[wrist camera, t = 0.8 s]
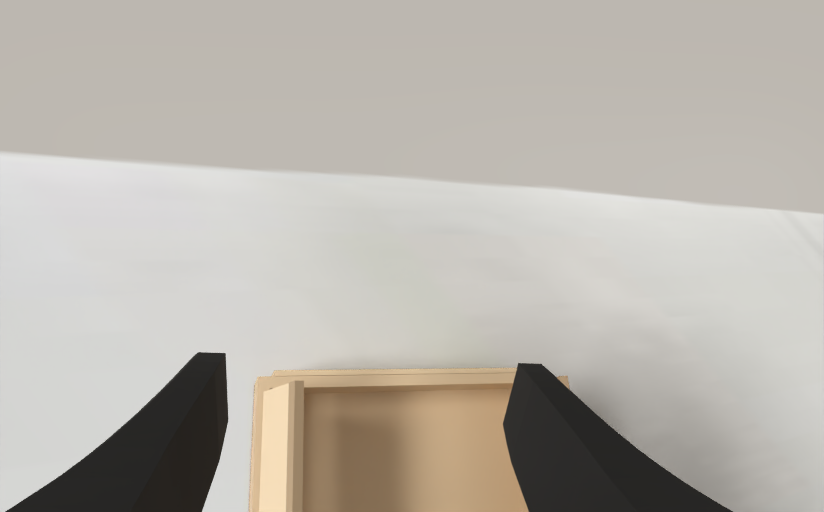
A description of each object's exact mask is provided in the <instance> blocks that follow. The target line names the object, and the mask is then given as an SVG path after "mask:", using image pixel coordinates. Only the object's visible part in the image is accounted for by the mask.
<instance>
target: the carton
mask: <svg viewBox="0 0 824 512" xmlns="http://www.w3.org/2000/svg"><path fill="white" fill-rule="evenodd" d="M516 371H517V368H455V369H364V370H275V371H274V372H273V374H272V376H269V377H258V378H257V380H256V383H255V385H254V407H253V429H252V450H251V472H250V494H249V512H259V497H260V472H261V446H262V421H263V396H264V391H267V390H270V389H273V388H276V387H279V386H281V385H284V384H287V383H289V382H292V381H304V424H303V498H302V512H529V510H528V508H527V505H526V502H525V500H524V497H523V494H522V491H521V489H520V486H519V483H518V480H517V477H516V475H515V472H514V469H513V466H512V463H511V460H510V455H509V451H508V447H507V443H506V438H505V433H504V428H503V421H504V417H505V413H506V409H507V405H508V402H509V398H510V394H511V390H512V386H513V382H514V378H515V374H516Z"/></svg>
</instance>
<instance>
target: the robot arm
mask: <svg viewBox="0 0 824 512" xmlns="http://www.w3.org/2000/svg"><path fill="white" fill-rule="evenodd" d="M227 423H228V403H227V379H226V354H225V353H201V352H198V353H197V354H196V355H195V356H193V358H192V359H191V360H190V361H189V362H188V363H187V364H186V365H185V366H184V367H183V368H182V369H181V370H180V371H179V372H178V373H177V374H176V375H175V377H174V378H173V379H172V380H171V381H170V382H169V383H168V384H167V385H166V386H165V387H164V388H163V389H162V390H161V391H160V392H159V393H158V394H157V395H156V396H155V397H154V398H153V399H151V400H150V401H149V402H148V403H147V404H146V405H145V406H144V407H143V408H142V409H141V410H140V411H139V412H138V413H137V414H136V415H135V416H134V417H132V418H131V419H130V420H129V421H128V422H127V423H126V424H124V425H123V426H122V427H121V428H120V429H119V430H118V431H116V432H115V433H114V434H113V435H112V436H111V437H110V438H108V439H107V440H106V441H105V442H104V443H102V444H101V445H100V446H99V447H97V448H96V449H95V450H94V451H93V452H91V453H90V454H89V455H87V456H86V457H85V458H84V459H82V460H81V461H80V462H78V463H77V464H76V465H74V466H73V467H72V468H70V469H69V470H68V471H66V472H65V473H63V474H62V475H61V476H59V477H58V478H56V479H55V480H53V481H52V482H50V483H49V484H47V485H46V486H44V487H43V488H41V489H40V490H38V491H37V492H35V493H34V494H32V495H31V496H29V497H27V498H26V499H24V500H23V501H21V502H20V503H18V504H17V505H15V506H14V507H12V508H11V509H9V510H7V511H6V512H202V509H203V506H204V504H205V501H206V498H207V495H208V492H209V489H210V486H211V483H212V480H213V478H214V475H215V472H216V469H217V466H218V463H219V460H220V455H221V451H222V446H223V442H224V437H225V433H226V428H227ZM503 428H504V433H505V438H506V443H507V447H508V451H509V455H510V460H511V463H512V466H513V469H514V472H515V475H516V477H517V480H518V483H519V486H520V489H521V491H522V494H523V497H524V500H525V502H526V505H527V508H528V510H529V512H732V511H731V510H729V509H727V508H725V507H724V506H722V505H720V504H718V503H717V502H715V501H714V500H712V499H710V498H709V497H707V496H705V495H704V494H702V493H701V492H699V491H697V490H696V489H694V488H692V487H691V486H689V485H688V484H686V483H685V482H683V481H682V480H680V479H679V478H677V477H676V476H674V475H673V474H671V473H670V472H669V471H667V470H666V469H664V468H663V467H661V466H660V465H659V464H657V463H656V462H654V461H653V460H652V459H650V458H649V457H648V456H646V455H645V454H644V453H642V452H641V451H640V450H638V449H637V448H636V447H635V446H633V445H632V444H631V443H630V442H628V441H627V440H626V439H625V438H623V437H622V436H621V435H620V434H618V433H617V432H616V431H615V430H614V429H613V428H611V427H610V426H609V425H608V424H607V423H606V422H604V421H603V420H602V419H601V418H600V417H599V416H598V415H596V414H595V413H594V412H593V411H592V410H591V409H590V408H589V407H588V406H586V405H585V404H584V403H583V402H582V401H581V400H580V399H579V398H578V397H577V396H576V395H575V394H573V393H572V392H571V391H570V390H569V389H568V388H567V387H566V386H565V385H564V384H563V383H562V382H561V381H560V380H559V379H557V378H556V377H555V376H554V375H553V374H552V373H551V372H550V371H549V370H548V369H546V368H545V367H544V366H543V365H542V364H526V363H518V367H517V371H516V374H515V378H514V382H513V386H512V390H511V394H510V398H509V402H508V405H507V409H506V413H505V417H504V421H503Z"/></svg>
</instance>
